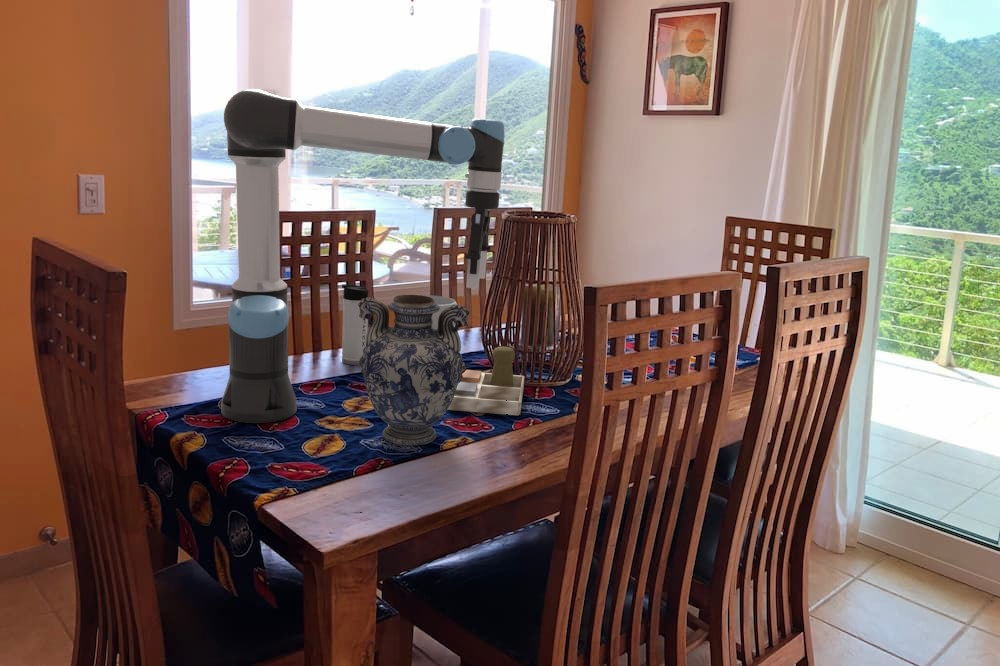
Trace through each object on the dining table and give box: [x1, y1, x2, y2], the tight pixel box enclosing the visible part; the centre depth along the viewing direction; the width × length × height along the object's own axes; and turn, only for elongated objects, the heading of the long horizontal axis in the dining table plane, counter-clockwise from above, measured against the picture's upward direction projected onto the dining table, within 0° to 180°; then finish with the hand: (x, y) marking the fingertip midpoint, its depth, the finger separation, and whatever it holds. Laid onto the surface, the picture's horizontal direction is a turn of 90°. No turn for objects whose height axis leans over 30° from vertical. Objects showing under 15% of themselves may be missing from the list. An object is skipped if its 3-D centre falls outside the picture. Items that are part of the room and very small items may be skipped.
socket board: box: [447, 369, 525, 416], centre depth 190 cm, size 16×20×4 cm
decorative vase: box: [358, 294, 470, 447], centre depth 161 cm, size 21×19×28 cm
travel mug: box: [341, 284, 369, 366], centre depth 210 cm, size 6×7×20 cm
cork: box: [490, 346, 516, 387], centre depth 194 cm, size 6×6×11 cm
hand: (475, 283), depth 191 cm, fingers open, 13 cm apart
